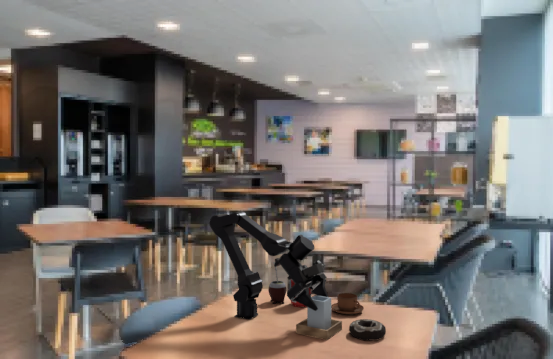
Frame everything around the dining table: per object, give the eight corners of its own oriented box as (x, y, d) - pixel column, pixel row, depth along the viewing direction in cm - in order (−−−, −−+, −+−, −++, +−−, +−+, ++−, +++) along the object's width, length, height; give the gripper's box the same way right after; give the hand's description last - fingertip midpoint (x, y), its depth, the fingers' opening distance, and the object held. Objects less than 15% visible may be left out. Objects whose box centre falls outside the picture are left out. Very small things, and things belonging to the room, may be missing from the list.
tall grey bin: (307, 330, 161) (307, 299, 161) (314, 325, 166) (315, 295, 166) (323, 334, 158) (324, 301, 158) (331, 329, 163) (331, 297, 162)
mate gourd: (280, 305, 190) (280, 267, 190) (263, 302, 194) (263, 264, 194) (290, 301, 196) (290, 263, 196) (273, 298, 201) (273, 261, 200)
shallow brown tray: (296, 333, 160) (296, 324, 160) (312, 323, 170) (312, 315, 170) (327, 340, 154) (327, 331, 154) (341, 329, 164) (342, 321, 164)
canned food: (309, 308, 187) (310, 279, 187) (289, 306, 189) (289, 278, 189) (312, 302, 195) (312, 274, 194) (292, 301, 197) (292, 273, 196)
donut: (383, 344, 152) (383, 331, 152) (345, 339, 156) (345, 326, 156) (388, 331, 163) (388, 319, 163) (352, 327, 167) (352, 315, 167)
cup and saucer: (368, 310, 186) (368, 294, 185) (355, 319, 175) (355, 302, 175) (339, 305, 192) (339, 289, 192) (325, 313, 182) (325, 296, 182)
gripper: (295, 258, 155) (326, 298, 150) (321, 249, 171) (351, 285, 166) (273, 280, 160) (303, 319, 154) (301, 269, 176) (329, 304, 170)
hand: (323, 306), depth 161 cm, fingers open, 9 cm apart
